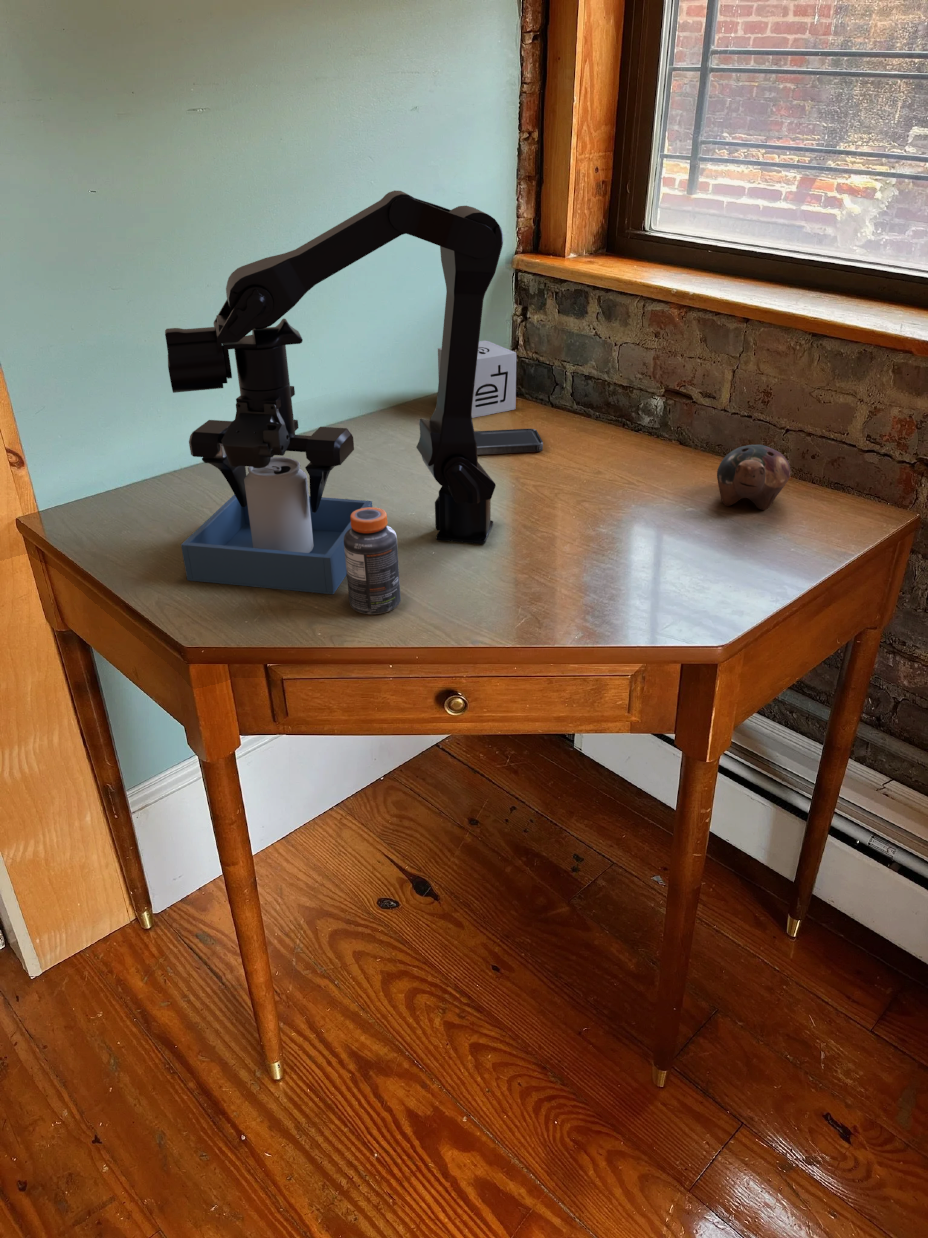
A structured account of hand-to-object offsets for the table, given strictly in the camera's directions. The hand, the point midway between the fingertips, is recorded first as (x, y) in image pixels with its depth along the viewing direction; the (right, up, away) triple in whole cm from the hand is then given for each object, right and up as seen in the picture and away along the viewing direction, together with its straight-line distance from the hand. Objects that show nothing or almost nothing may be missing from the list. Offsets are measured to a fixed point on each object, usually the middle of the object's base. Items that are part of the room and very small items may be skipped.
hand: (279, 508), depth 118 cm
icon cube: (+25, +24, +54) cm, 64 cm away
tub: (0, -6, +3) cm, 7 cm away
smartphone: (+27, +15, +36) cm, 48 cm away
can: (0, -6, +3) cm, 6 cm away
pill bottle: (+12, -12, -7) cm, 19 cm away
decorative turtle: (+63, +3, +17) cm, 65 cm away
